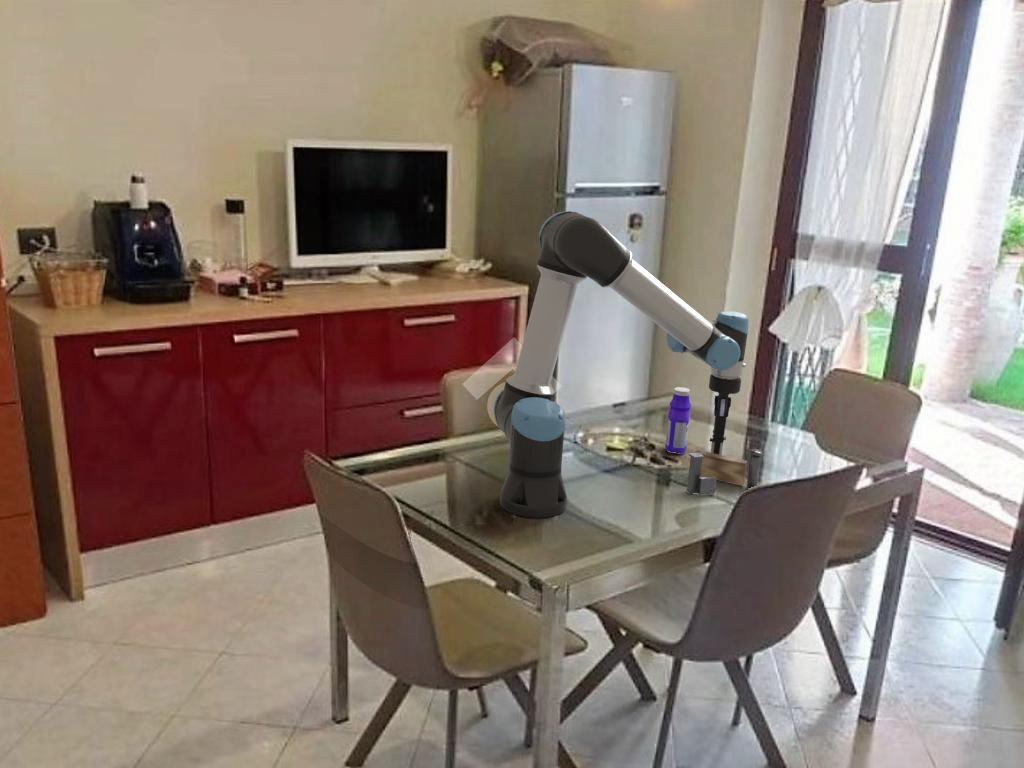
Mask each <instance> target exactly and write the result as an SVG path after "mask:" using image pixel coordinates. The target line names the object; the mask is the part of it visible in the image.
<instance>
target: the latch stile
mask: <svg viewBox="0 0 1024 768" xmlns="http://www.w3.org/2000/svg"><path fill="white" fill-rule="evenodd" d="M688 456H689V457H690V458H689V467H688V476H687V486H686V492H687V491H688V492H689V493H690V494H689V493H688V492H687V493H688V494H689V495H694V494H693V493H698V494H697V495H698V496H701V495H702V496H703V495H715V494H716V487H717V481H718V480H717V478H716V477H715V476H714V477H702V476H700V474H701V466H702V459H704V456H703V455H702V454H700V453H695V452H690V453H689V454H688Z"/></svg>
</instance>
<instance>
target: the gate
mask: <svg viewBox="0 0 1024 768" xmlns="http://www.w3.org/2000/svg"><path fill="white" fill-rule="evenodd" d="M694 453H700V454H702V455H703V456H704V459H702V466H701V474H700V477H714V476H715V477H716V478H717V481H721V482H723V483H724V482H725V483H729V484H733V485H737V486H744V485H745V482H746V476H747V469H748V464H749V462H748V460H745V459H741V458H738V457H737V458H736V457H731V456H726V455H723V454H722V455H718V454H714V453H711V452H709V451H706V450H701V449H697V450H695V451H694Z"/></svg>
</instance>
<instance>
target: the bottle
mask: <svg viewBox="0 0 1024 768" xmlns="http://www.w3.org/2000/svg"><path fill="white" fill-rule="evenodd" d="M690 392H691V390H690V389H689V388H688V387H681V386H678V387H675V388H673V396H672V399H671V401H670V402H669V407H670V408H669V411H668V417H667V419H668V420H667V430H666V436H665V443H664V445H665V447H664V448H665V450H668V451H670V452H676V453H683V454H684V453H685V452H686V450H687V447H688V445H687V443H688V434H689V433H688V431H689V424H690V420H691V419H690V418H691V410H690V409H691V408H692V404H691V402H690Z"/></svg>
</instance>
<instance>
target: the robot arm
mask: <svg viewBox="0 0 1024 768" xmlns="http://www.w3.org/2000/svg"><path fill="white" fill-rule="evenodd" d="M538 242H539V247H540V252H539V255H538V259H537V263H536V268H537V269H538V271H539V272H540V278H539V280H538V281H539V282H538V285H537V287H536V288H537V289H536V292H535V296H534V300H533V303H532V306H531V307H532V308H531V311H530V314H529V318H528V322H527V323H528V324H527V325H526V330H525V333H524V337H523V340H522V341H523V342H522V345H521V349H520V352H519V356H518V359H517V360H518V361H517V364H516V368H515V370H514V373H513V374H512V375H510V376H508V377H507V378H506V380H505V384H504V387H503V389H502V390H501V391H500V392H499V393H498V394H497V396H496V397H495V398H496V399H495V401H494V404H493V415H494V418H495V422H496V424H497V426H498V427H499V429H500V431H501V432H502V433H503V434H504V435H505V437H506V439H508V442H509V444H510V445H509V446H510V447H509V448H510V450H509V464H508V465H509V466H508V467H509V468H508V472H507V475H506V477H505V480H504V482H503V485H502V487H501V489H500V492H499V505H500V507H501V508H502V509H503V510H504V511H506V512H507V513H510V514H512V515H516V516H519V517H525V518H534V519H538V518H539V519H541V518H551V517H555V516H558V515H560V514H562V513H563V512H564V511H566V509H567V501H568V497H567V491H566V488H565V484H564V481H563V477H562V463H563V462H562V461H563V452H564V440H565V438H564V437H565V430H566V429H565V428H566V418H565V417H566V415H565V411H564V409H563V407H562V406H561V405H560V404H559V403H557V402H556V401H553V399H554V395H555V389H554V388H553V386H552V383H551V381H552V379H553V374H554V371H555V367H556V364H557V360H558V356H559V352H560V350H561V345H562V342H563V338H564V335H565V331H566V328H567V324H568V320H569V317H570V313H571V309H572V305H573V302H574V299H575V295H576V292H577V288H578V285H579V284H580V283H582V282H583V281H585V280H586V279H587V278H588V279H591V280H592V281H594V282H595V283H596V284H598V285H599V286H601V288H611V289H612V290H613V291H614V292H616V293H617V294H618V295H619V296H620V297H622V298H623V299H624V300H626V301H627V302H628V303H630V305H632V306H633V307H635V308H636V309H637V310H638V311H640V312H641V313H642V314H644V315H645V316H646V317H647V318H649V319H650V320H651V321H652V322H654V323H655V324H656V325H657V326H658V327H660V328H661V329H663V331H665V332H666V343H667V346H668V348H669V350H670V351H671V352H672V353H680V354H683V353H684V354H685V353H688V354H690V355H691V356H694V357H696V358H697V359H698V360H701V361H702V362H703V363H705V364H707V365H708V366H710V373H711V374H709V375H710V376H709V383H708V388H709V390H710V391H711V392H714V393H718V394H717V395H714V404H713V405H714V410H713V412H714V413H713V414H714V422H713V423H714V425H713V430H712V437H710V438H709V442H711V448H710V453H714V454H718V455H723V446H724V441H726V440H727V437H726V436H725V433H726V432H725V430H726V425H727V424H726V422H727V418H729V412H730V408H731V405H732V397H731V396H729V395H736V394H738V393H740V391H741V385H742V378H741V377H742V375H743V368H746V367H747V365H746V363H744V360H745V353H746V348H747V347H746V346H747V339H748V335H749V317H748V316H747V315H746V314H744V313H742V312H739V311H738V312H737V311H728V310H726V311H719V312H718V313H717V317H716V319H715V320H707V319H706V318H705V317H704V316H702V315H701V314H700V313H699V312H698V311H696V310H695V309H694V308H693V307H692V306H691V305H689V304H688V303H686V302H685V301H684V300H683V299H682V298H681V297H679V296H678V295H677V294H676V293H674V292H673V291H672V290H671V289H669V287H667V286H666V285H664V283H662V282H661V281H660V280H659V279H658V278H656V277H655V276H653V275H652V274H651V273H650V272H649V271H648V270H646V269H645V268H644V267H642V266H641V265H640V264H639V263H638V262H636V261H635V260H634V259H633V253H632V252H631V250H630V249H628V248H627V247H626V246H625V245H624V244H622V243H621V242H620V241H619V239H617V238H616V237H615V236H614V235H613V234H612V233H611V232H610V231H609V230H608V229H607V228H606V227H605V226H604V225H603V224H601V222H599V221H597V220H596V219H595V218H592V217H588V216H585V215H584V214H581V213H579V212H577V211H571V210H570V211H569V210H568V211H565V210H564V211H559V212H556V213H553V214H552V215H550V216H549V217H548V218H547V219H545V220H544V222H543V224H541V227H540V230H539V235H538Z"/></svg>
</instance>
